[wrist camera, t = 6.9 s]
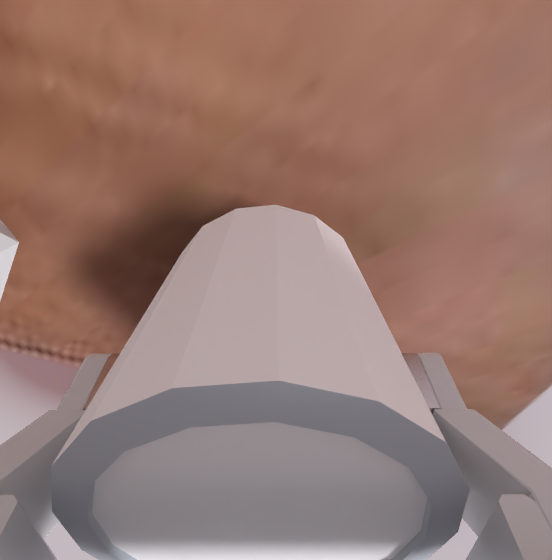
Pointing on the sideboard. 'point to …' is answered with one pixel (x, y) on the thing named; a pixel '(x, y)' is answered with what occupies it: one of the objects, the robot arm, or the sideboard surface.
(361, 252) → the sideboard surface
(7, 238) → the die
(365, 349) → the white rimmed cylinder
